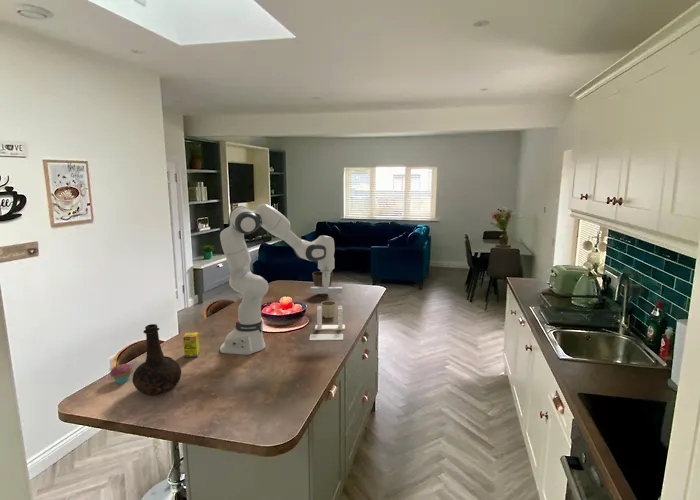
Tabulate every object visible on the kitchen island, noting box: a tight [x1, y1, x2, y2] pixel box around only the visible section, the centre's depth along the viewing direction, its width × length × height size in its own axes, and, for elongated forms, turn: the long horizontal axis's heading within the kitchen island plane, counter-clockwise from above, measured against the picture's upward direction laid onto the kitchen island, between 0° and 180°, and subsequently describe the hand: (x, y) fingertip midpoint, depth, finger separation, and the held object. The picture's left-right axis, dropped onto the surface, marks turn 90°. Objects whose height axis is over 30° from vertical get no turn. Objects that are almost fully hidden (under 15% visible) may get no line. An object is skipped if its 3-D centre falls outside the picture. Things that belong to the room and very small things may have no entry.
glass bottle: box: [132, 323, 182, 396], centre depth 169 cm, size 18×18×28 cm
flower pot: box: [320, 300, 337, 319], centre depth 258 cm, size 9×9×9 cm
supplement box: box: [182, 331, 200, 359], centre depth 203 cm, size 6×6×11 cm
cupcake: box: [109, 357, 134, 385], centre depth 178 cm, size 9×8×12 cm
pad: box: [309, 333, 344, 341], centre depth 225 cm, size 18×8×1 cm, turn 91°
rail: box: [310, 286, 343, 295], centre depth 225 cm, size 17×3×3 cm, turn 92°
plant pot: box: [312, 271, 334, 297], centre depth 304 cm, size 15×15×16 cm
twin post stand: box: [314, 305, 346, 331], centre depth 238 cm, size 17×6×12 cm, turn 91°
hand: (326, 290), depth 225 cm, fingers closed on rail, 3 cm apart
